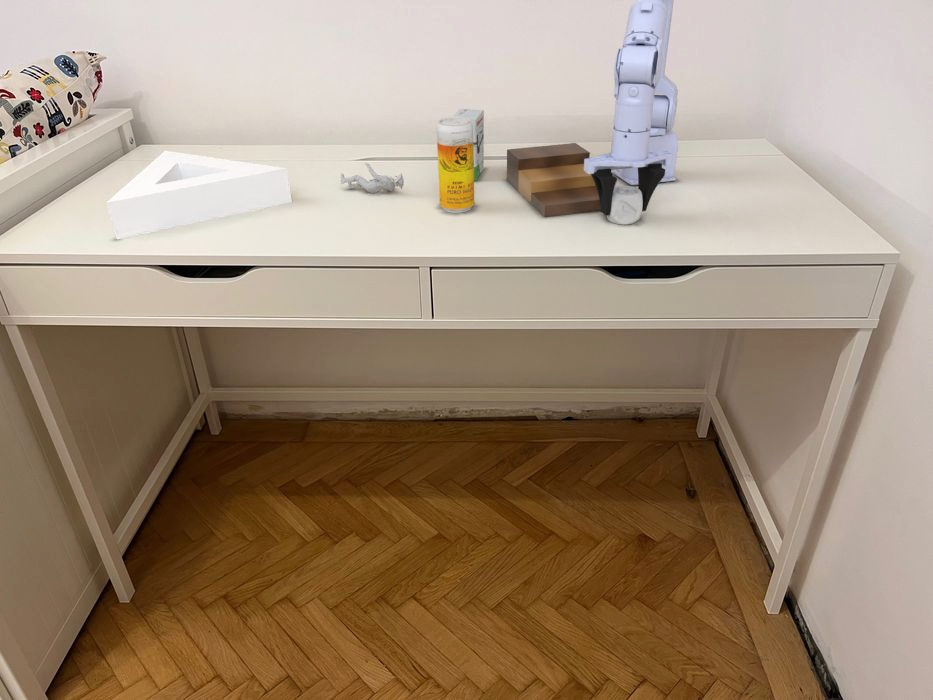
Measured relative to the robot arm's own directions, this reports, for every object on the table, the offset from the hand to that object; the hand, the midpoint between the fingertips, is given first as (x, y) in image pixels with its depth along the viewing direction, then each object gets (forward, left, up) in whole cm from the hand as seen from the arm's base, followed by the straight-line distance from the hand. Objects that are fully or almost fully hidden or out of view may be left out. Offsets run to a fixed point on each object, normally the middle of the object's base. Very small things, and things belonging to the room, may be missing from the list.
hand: (623, 211), depth 115 cm
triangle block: (+71, -34, -2) cm, 79 cm away
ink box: (+18, -32, -2) cm, 37 cm away
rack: (+5, -16, -1) cm, 16 cm away
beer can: (+25, -14, -2) cm, 29 cm away
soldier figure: (+38, -27, -2) cm, 47 cm away
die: (0, 0, -2) cm, 2 cm away
